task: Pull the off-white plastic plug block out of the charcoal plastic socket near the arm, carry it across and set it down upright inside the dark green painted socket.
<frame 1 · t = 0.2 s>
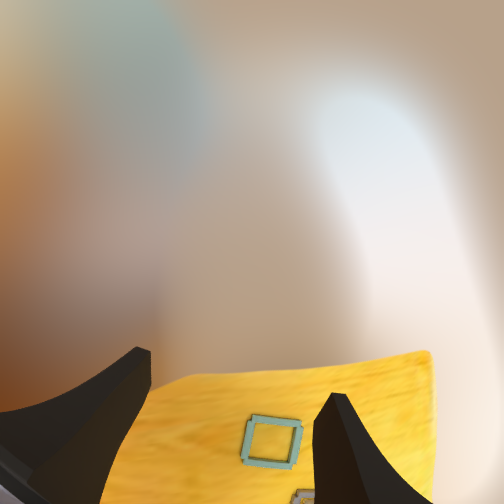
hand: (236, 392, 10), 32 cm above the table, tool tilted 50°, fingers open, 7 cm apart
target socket: (271, 441, 35), on the table
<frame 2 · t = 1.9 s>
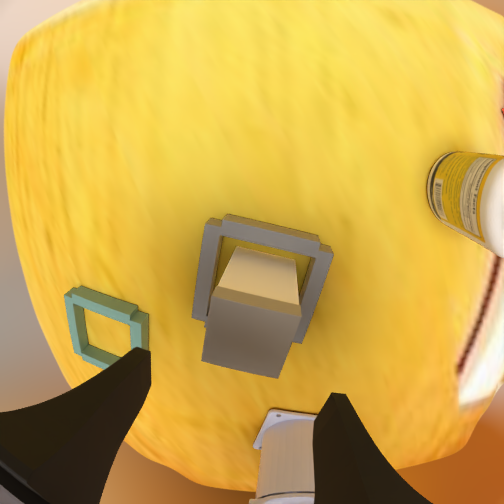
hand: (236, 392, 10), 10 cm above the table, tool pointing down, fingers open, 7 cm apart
supplement bottle: (453, 187, 16), on the table
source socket: (259, 279, 20), on the table
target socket: (110, 331, 23), on the table
plug: (254, 305, 16), in the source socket
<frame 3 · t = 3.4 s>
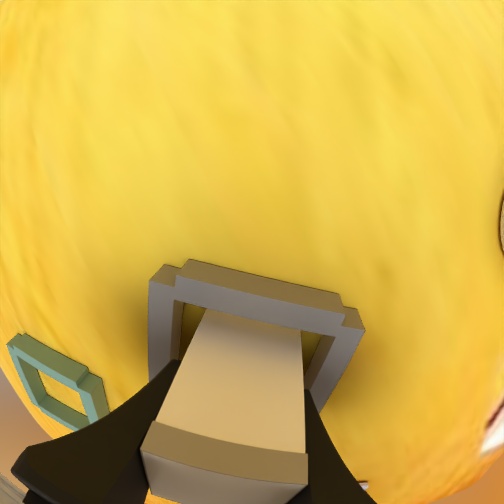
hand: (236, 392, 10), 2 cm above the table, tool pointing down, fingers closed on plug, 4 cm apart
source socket: (244, 354, 12), on the table
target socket: (64, 387, 16), on the table
plug: (232, 413, 9), in the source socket, touching gripper
when the fingers open (4 cm above the table, at t = 8.9 s): plug drops 2 cm, resting in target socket.
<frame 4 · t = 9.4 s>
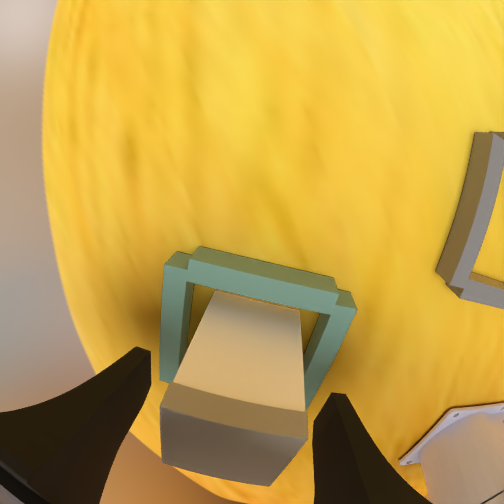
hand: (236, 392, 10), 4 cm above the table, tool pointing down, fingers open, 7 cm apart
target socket: (248, 335, 14), on the table
plug: (238, 384, 10), in the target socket
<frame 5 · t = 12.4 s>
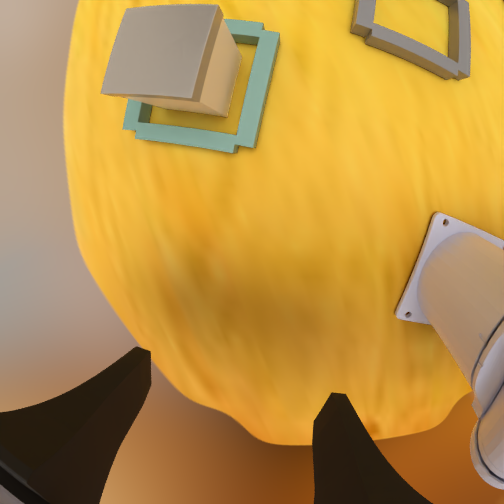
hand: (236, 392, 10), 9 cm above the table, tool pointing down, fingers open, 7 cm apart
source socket: (412, 16, 11), on the table
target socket: (202, 82, 15), on the table
plug: (183, 67, 11), in the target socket
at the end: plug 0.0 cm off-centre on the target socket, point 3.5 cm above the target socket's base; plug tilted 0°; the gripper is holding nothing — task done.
